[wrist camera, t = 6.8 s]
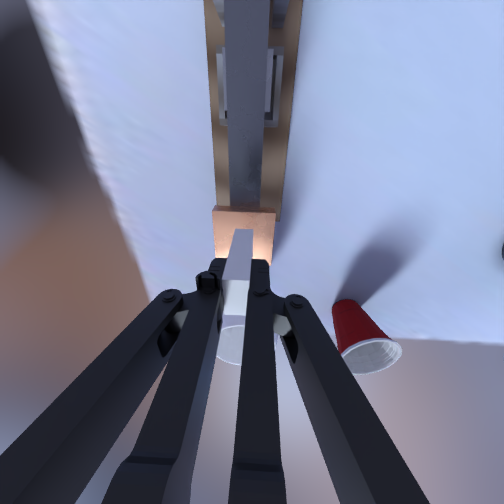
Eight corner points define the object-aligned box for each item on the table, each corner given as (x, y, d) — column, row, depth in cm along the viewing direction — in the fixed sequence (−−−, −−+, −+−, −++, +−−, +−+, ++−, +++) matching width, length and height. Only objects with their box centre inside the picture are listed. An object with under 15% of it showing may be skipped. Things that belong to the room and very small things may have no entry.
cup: (275, 259, 39) (284, 324, 26) (271, 299, 44) (276, 369, 32) (220, 257, 39) (202, 320, 26) (223, 297, 45) (208, 366, 32)
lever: (206, -49, 14) (185, -117, 10) (293, -47, 14) (306, -114, 10) (222, 242, 26) (216, 263, 22) (269, 244, 26) (270, 265, 22)
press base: (205, -24, 21) (122, -264, 8) (302, -22, 21) (372, -261, 8) (219, 214, 35) (196, 265, 22) (278, 216, 34) (289, 269, 22)
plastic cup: (356, 328, 48) (382, 381, 38) (313, 320, 47) (328, 372, 37) (381, 295, 43) (419, 348, 33) (333, 285, 42) (357, 336, 32)
